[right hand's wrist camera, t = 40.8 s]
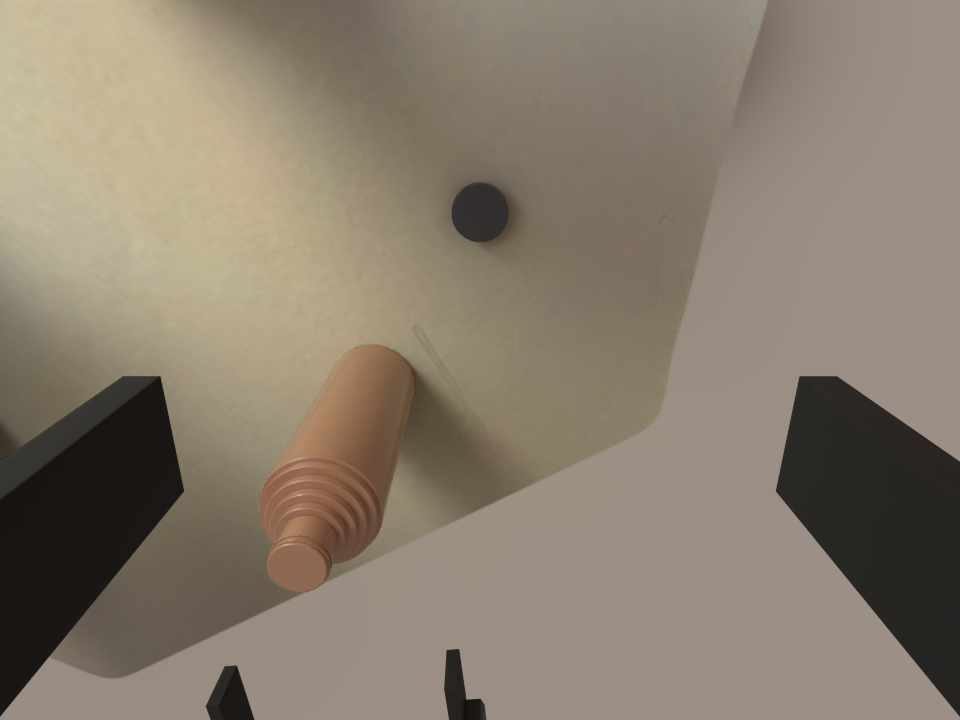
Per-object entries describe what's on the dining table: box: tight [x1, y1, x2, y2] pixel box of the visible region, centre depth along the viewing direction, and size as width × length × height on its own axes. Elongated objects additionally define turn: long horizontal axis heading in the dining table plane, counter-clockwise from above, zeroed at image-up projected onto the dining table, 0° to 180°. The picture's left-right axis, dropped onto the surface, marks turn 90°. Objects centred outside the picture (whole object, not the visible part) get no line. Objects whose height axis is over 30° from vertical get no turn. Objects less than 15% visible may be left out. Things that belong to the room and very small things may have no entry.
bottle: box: [259, 345, 415, 592], centre depth 42 cm, size 7×7×24 cm
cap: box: [452, 183, 508, 242], centre depth 47 cm, size 4×4×2 cm
